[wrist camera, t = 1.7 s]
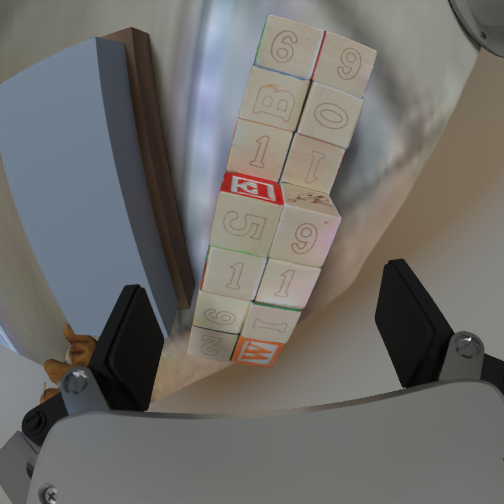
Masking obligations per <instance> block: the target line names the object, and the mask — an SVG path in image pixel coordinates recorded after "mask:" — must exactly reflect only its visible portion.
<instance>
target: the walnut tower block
mask: <svg viewBox="0 0 504 504" xmlns="http://www.w3.org/2000/svg"><path fill="white" fill-rule="evenodd" d="M100 38H105V39H109V40H114V41H118V42H123V43H125V52H126V61H127V70H128V78H129V85H130V93H131V99H132V106H133V112H134V118H135V124H136V130H137V136H138V141H139V147H140V152H141V157H142V162H143V167H144V172H145V177H146V181H147V186H148V190H149V195H150V199H151V204H152V208H153V212H154V216H155V220H156V224H157V228H158V232H159V236H160V240H161V244H162V248H163V251H164V255H165V259H166V262H167V266H168V270H169V273H170V277H171V280H172V283H173V287H174V290H175V294H176V297H177V300H178V306H177V309H190V305H191V300H192V296H193V292H194V288H195V281H194V277H193V273H192V269H191V265H190V261H189V257H188V253H187V249H186V245H185V240H184V236H183V232H182V227H181V223H180V219H179V214H178V209H177V205H176V200H175V195H174V191H173V186H172V181H171V176H170V171H169V166H168V160H167V155H166V150H165V144H164V139H163V133H162V127H161V121H160V115H159V109H158V103H157V96H156V90H155V83H154V75H153V68H152V60H151V52H150V44H149V35H148V33H146V32H143V31H141V30H138V29H135V28H133V27H130V28H126V29H123V30H120V31H117V32H114V33H111V34H109V35H106V36H103V37H100Z"/></svg>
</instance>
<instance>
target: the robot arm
mask: <svg viewBox="0 0 504 504" xmlns="http://www.w3.org/2000/svg"><path fill="white" fill-rule="evenodd" d="M450 2H451V4H452V7H453V9H454V11H455V12H456V14H457V16H458V18H459V20H460V21H461V23H462V24H463V25H464V27H465V28H466V30H467V31H468V32H469V33H470V35H471V36H472V37H473V38H474V39H475V40H476V41H477V42H478V43H479V44H480V45H481V46H482V47H483V48H485V49H486V50H487V51H489V52H490V53H492V54H494V55H496V56H499V57H503V58H504V0H450ZM375 322H376V325H377V327H378V330H379V332H380V334H381V337H382V339H383V341H384V344H385V346H386V348H387V351H388V353H389V356H390V358H391V360H392V363H393V365H394V368H395V370H396V373H397V375H398V378H399V381H400V383H401V385H402V387H403V388H405V387H406V389H402V390H398V391H393V392H389V393H384V394H379V395H375V396H370V397H366V398H361V399H355V400H350V401H344V402H338V403H331V404H325V405H318V406H310V407H303V408H294V409H285V410H273V411H260V412H243V413H214V414H213V413H212V414H192V413H191V414H190V413H189V414H188V413H186V414H185V413H159V412H144V411H147V410H148V408H149V403H150V399H151V394H152V390H153V386H154V381H155V377H156V373H157V369H158V365H159V361H160V357H161V353H162V349H163V345H164V336H163V333H162V331H161V328H160V326H159V323H158V321H157V318H156V316H155V313H154V311H153V308H152V306H151V303H150V300H149V298H148V295H147V292H146V290H145V288H143V287H141V286H140V285H139V284H132V285H125V286H124V288H123V290H122V292H121V294H120V296H119V298H118V300H117V302H116V304H115V306H114V308H113V310H112V312H111V314H110V316H109V318H108V320H107V322H106V325H105V327H104V329H103V331H102V333H101V335H100V338H99V340H98V342H97V344H96V347H95V349H94V351H93V354H92V356H91V358H90V361H89V363H88V366H87V367H83V366H79V367H74V368H72V369H70V370H69V371H67V372H66V373H65V374H64V376H63V377H62V379H61V382H60V391H61V392H59V393H57V394H56V395H54V396H53V397H51V398H49V399H48V400H46V401H45V402H43V403H41V404H40V405H38V406H37V407H35V408H33V409H32V410H30V411H29V412H28V413H27V414H26V415H25V417H24V419H23V421H22V431H21V432H19V431H17V432H16V433H15V434H14V435H13V436H12V437H11V438H10V439H9V440H8V442H7V443H6V444H5V445H4V446H3V447H2V448H1V449H0V485H1V486H2V488H3V490H4V491H5V493H6V494H7V496H8V497H9V499H10V500H11V502H12V503H13V504H504V361H502V360H500V359H497V358H495V357H492V356H490V355H487V354H485V353H484V345H483V343H482V341H481V340H480V338H479V337H477V336H476V335H475V334H472V333H470V332H466V331H463V332H458V333H454V331H453V330H452V328H451V327H450V325H449V324H448V322H447V320H446V319H445V317H444V316H443V314H442V313H441V311H440V310H439V308H438V307H437V305H436V304H435V303H434V301H433V299H432V298H431V296H430V295H429V293H428V292H427V291H426V289H425V288H424V287H423V285H422V284H421V282H420V281H419V279H418V278H417V277H416V275H415V274H414V272H413V271H412V270H411V268H410V267H409V266H408V264H407V263H406V261H405V260H404V259H396V260H390V261H389V262H388V264H386V265H385V266H384V270H383V276H382V282H381V287H380V293H379V298H378V303H377V308H376V313H375Z"/></svg>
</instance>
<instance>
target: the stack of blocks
mask: <svg viewBox="0 0 504 504" xmlns="http://www.w3.org/2000/svg"><path fill="white" fill-rule="evenodd" d="M376 57H377V51H376V50H373V49H371V48H369V47H367V46H364V45H362V44H360V43H357V42H355V41H352V40H350V39H347V38H345V37H343V36H340V35H337V34H335V33H332V32H329V31H323V30H321V29H318V28H315V27H312V26H309V25H306V24H303V23H300V22H296V21H292V20H289V19H286V18H282V17H278V16H274V15H270V14H269V15H268V16H267V19H266V22H265V25H264V29H263V32H262V36H261V39H260V43H259V46H258V49H257V53H256V57H255V61H254V64H253V66H252V69H251V72H250V75H249V79H248V83H247V87H246V90H245V94H244V98H243V101H242V105H241V109H240V113H239V117H238V121H237V124H236V129H235V132H234V136H233V140H232V145H231V150H230V154H229V158H228V163H227V167H226V172H225V173H224V177H223V180H222V184H221V188H220V191H219V196H218V201H217V206H216V211H215V216H214V221H213V226H212V231H211V236H210V241H209V247H208V251H207V255H206V259H205V264H204V268H203V273H202V278H201V282H200V287H199V291H198V296H197V301H196V307H195V313H194V318H193V323H192V327H191V333H190V338H189V343H188V349H187V354H189V355H194V356H199V357H204V358H209V359H214V360H219V361H224V362H228V361H230V360H231V362H233V363H237V364H244V365H251V366H258V367H266V368H272V367H273V366H274V364H275V362H276V360H277V358H278V356H279V354H280V353H281V351H282V349H283V347H284V345H285V343H286V342H288V340H289V338H290V336H291V334H292V332H293V330H294V327H295V326H296V324H297V321H298V319H299V317H300V315H301V309H302V308H304V307H305V306H306V304H307V302H308V300H309V297H310V295H311V293H312V291H313V288H314V286H315V284H316V282H317V279H318V277H319V275H320V272H321V267H322V266H323V264H324V262H325V260H326V257H327V255H328V252H329V250H330V248H331V245H332V243H333V240H334V238H335V236H336V233H337V230H338V228H339V225H340V223H341V220H342V218H341V216H340V215H339V213H338V211H337V209H336V207H335V205H334V203H333V202H332V200H331V198H330V196H329V194H330V192H331V190H332V187H333V184H334V182H335V179H336V176H337V174H338V171H339V168H340V165H341V163H342V160H343V157H344V154H345V151H346V149H347V148H348V147H349V145H350V142H351V139H352V136H353V133H354V131H355V128H356V125H357V122H358V119H359V116H360V113H361V110H362V107H363V104H364V99H363V97H364V94H365V92H366V89H367V86H368V83H369V79H370V76H371V73H372V70H373V66H374V64H375V60H376Z"/></svg>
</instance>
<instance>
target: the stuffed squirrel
mask: <svg viewBox="0 0 504 504" xmlns="http://www.w3.org/2000/svg"><path fill="white" fill-rule="evenodd" d="M63 332H64V336H65V338H66V339H67V340H68V341H69V342H70V343H71V345H72V346H71V347H70V348H69V349H68V350H67V353H66V355H65V356H64V363H62V362H60V361H57V360H55V359H49V360H47V361H46V362H45V363H44V368H45V371H46V372H47V374H48V376H49V379H50V380H51V381H52V382H53V383H55V384H56V385H57V386H58V388H48V389H46V390H45V387H46V383H45V382H44V391H43V394H42V396H41V399H40V404H41V403H43V402H45V401H46V400H48V399H49V398H51V397H53V396H54V395H56V394H57V393H59V392H61V391H60V382H61V379H62V377H63V376H64V374H65V373H66V372H67V371H69V370H70V369H72V368H74V367H79V366H83V367H87V366H88V363H89V361H90V358H91V356H92V354H93V351H94V349H95V347H96V344H97V342H96V341H95V340H94V339H93V338H92V337H90V336H89V335H76V334H75V333H74V331H73V330H72V328H71V326H70V325H69V324H68V325H67V326H66V327H64V329H63Z"/></svg>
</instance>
